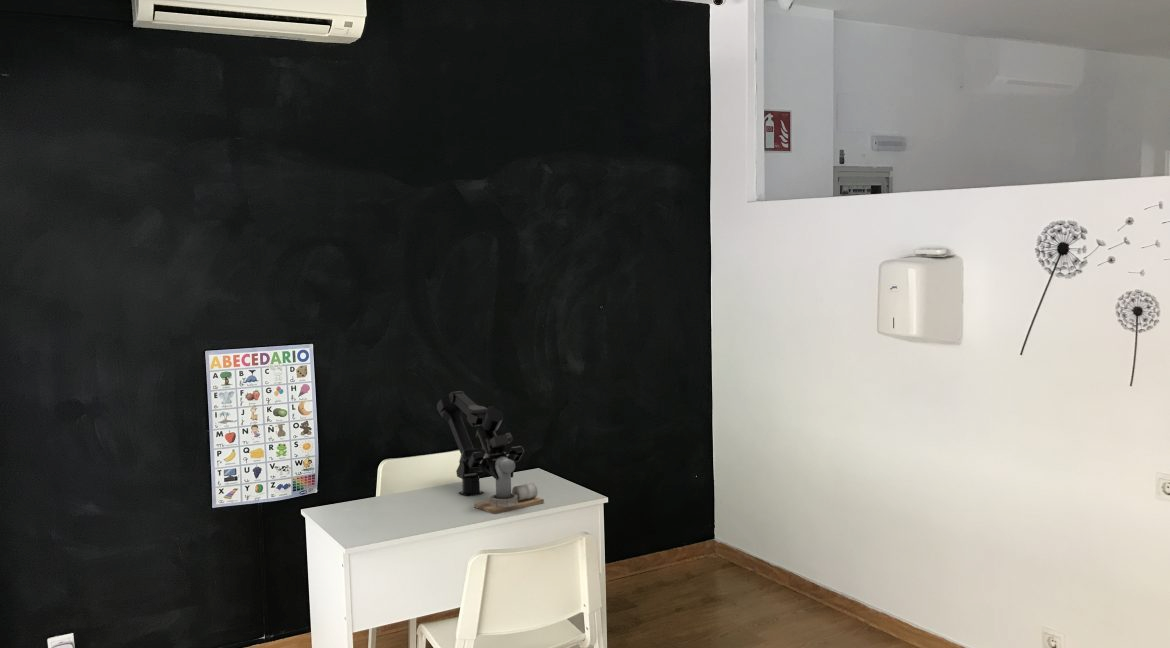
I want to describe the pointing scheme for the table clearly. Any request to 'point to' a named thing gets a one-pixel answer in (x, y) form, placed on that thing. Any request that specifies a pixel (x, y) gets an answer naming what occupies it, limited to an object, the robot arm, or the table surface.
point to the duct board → (512, 500)
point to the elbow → (504, 477)
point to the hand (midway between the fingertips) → (505, 478)
